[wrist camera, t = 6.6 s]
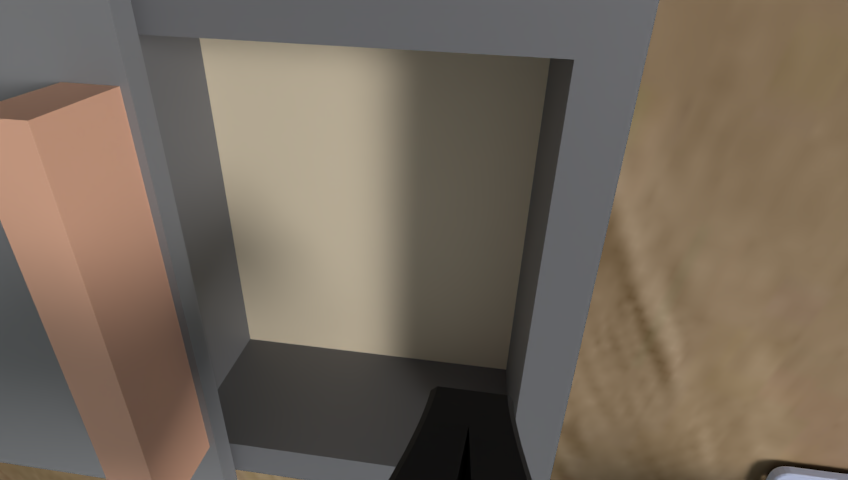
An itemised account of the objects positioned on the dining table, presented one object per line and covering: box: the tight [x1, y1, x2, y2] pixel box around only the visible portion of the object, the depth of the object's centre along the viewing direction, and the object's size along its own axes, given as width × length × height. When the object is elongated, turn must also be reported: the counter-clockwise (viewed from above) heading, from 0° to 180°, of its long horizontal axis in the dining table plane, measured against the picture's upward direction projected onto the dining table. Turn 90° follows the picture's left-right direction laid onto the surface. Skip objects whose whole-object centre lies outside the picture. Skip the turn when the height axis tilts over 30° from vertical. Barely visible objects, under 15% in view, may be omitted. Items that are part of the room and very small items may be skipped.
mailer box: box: [131, 0, 659, 480], centre depth 15 cm, size 14×12×5 cm
